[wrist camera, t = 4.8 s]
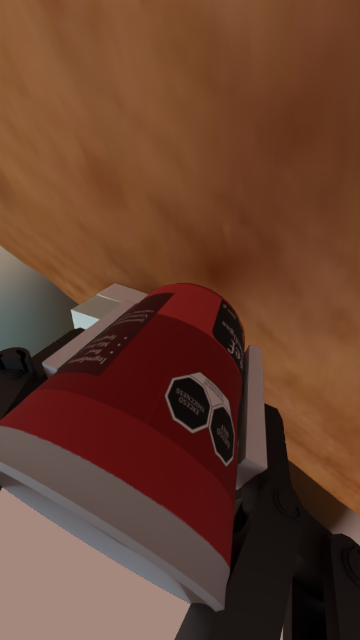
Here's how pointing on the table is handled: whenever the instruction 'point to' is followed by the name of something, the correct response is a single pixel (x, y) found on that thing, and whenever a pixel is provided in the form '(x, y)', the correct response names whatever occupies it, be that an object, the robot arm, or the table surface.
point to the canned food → (142, 442)
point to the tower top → (92, 311)
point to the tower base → (122, 293)
